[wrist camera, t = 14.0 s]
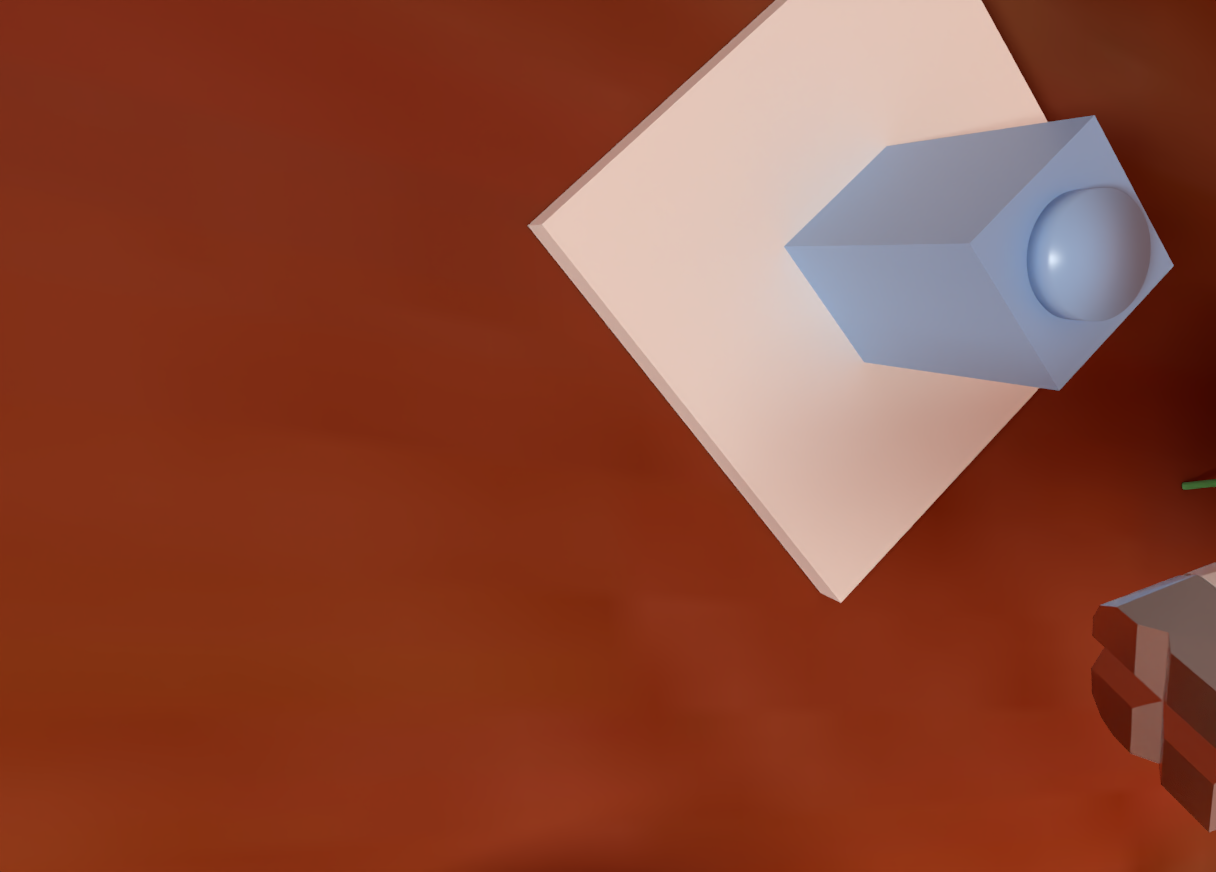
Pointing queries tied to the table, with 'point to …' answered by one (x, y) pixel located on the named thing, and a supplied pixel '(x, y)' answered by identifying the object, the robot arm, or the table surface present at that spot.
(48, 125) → the table surface
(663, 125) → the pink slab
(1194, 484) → the lily
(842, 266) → the blue domed block
